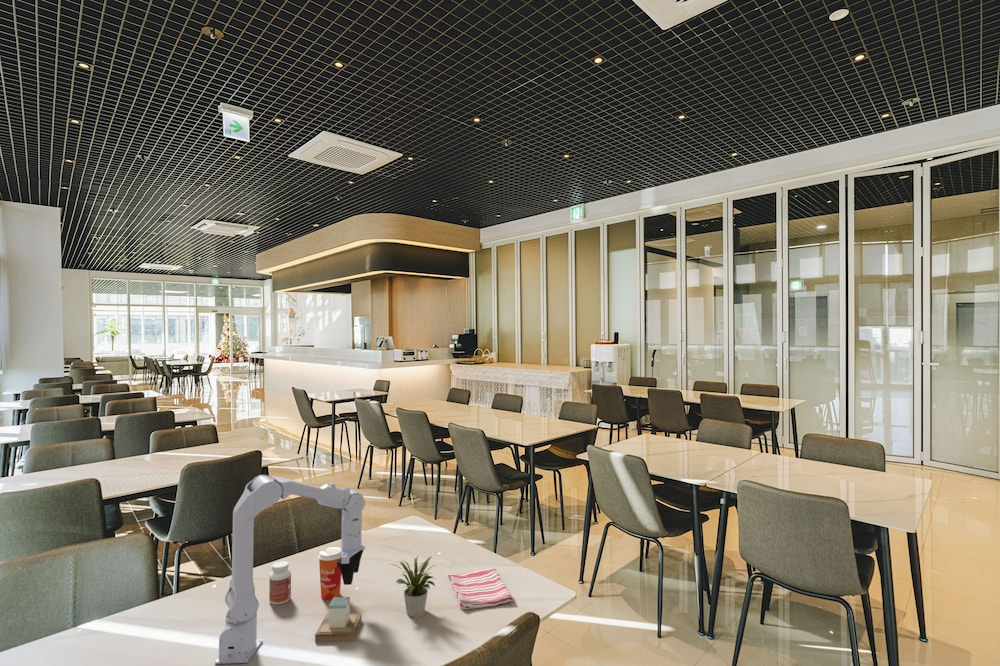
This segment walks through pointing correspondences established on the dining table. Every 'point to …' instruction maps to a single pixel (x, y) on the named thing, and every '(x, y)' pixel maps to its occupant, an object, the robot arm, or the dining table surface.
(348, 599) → the cube
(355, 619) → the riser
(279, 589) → the pill bottle
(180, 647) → the dining table surface
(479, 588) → the dish towel
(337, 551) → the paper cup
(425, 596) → the house plant
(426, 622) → the dining table surface
